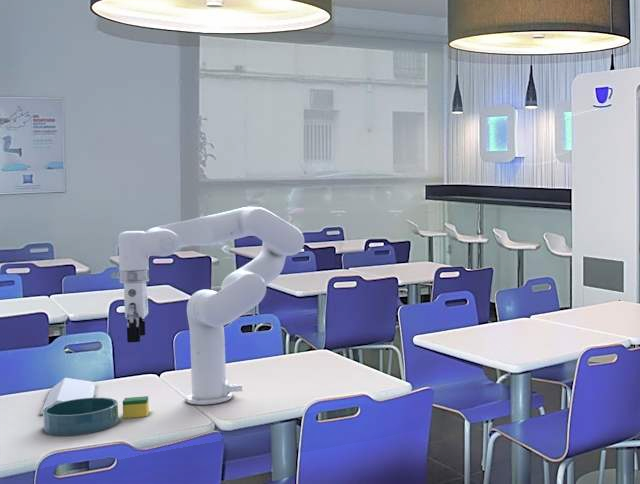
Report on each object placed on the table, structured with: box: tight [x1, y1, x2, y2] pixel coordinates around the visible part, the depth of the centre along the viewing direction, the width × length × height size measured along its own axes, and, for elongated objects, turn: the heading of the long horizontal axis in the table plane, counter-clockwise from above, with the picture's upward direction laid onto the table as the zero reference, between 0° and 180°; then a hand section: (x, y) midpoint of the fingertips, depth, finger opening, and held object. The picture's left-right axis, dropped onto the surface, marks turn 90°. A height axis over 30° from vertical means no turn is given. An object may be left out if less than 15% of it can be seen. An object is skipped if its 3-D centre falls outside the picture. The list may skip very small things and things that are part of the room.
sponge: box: [122, 395, 150, 419], centre depth 237 cm, size 6×4×4 cm, turn 103°
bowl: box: [42, 397, 119, 436], centre depth 229 cm, size 18×18×5 cm
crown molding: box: [40, 377, 96, 416], centre depth 255 cm, size 29×12×4 cm, turn 21°
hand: (136, 338), depth 240 cm, fingers open, 9 cm apart
